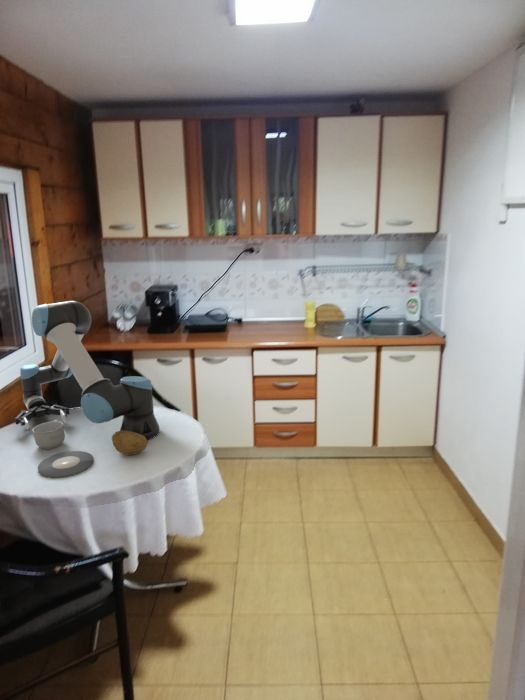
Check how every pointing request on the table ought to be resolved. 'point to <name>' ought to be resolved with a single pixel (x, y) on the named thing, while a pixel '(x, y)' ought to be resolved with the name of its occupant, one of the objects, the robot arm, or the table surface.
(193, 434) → the table surface
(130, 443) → the potato
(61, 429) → the teacup
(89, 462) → the saucer
